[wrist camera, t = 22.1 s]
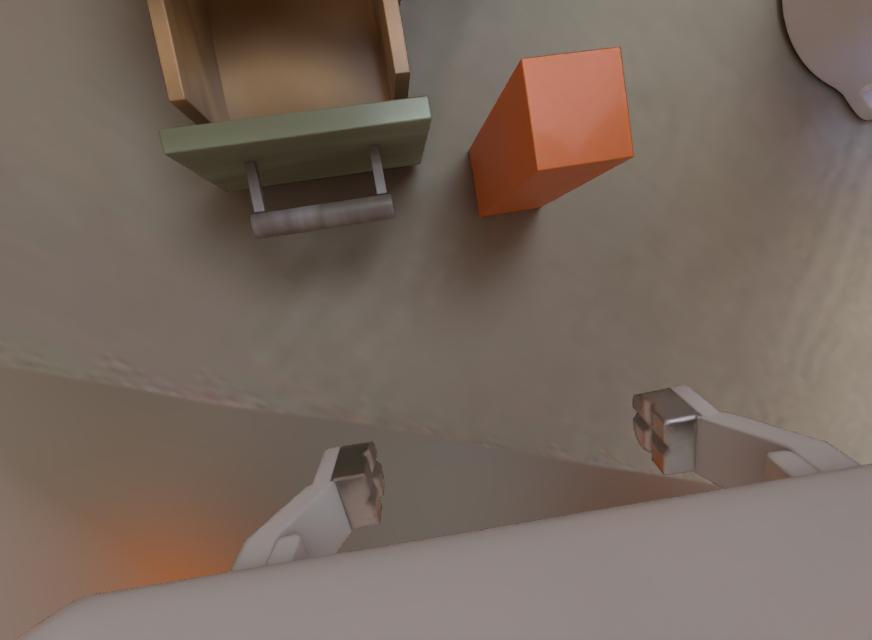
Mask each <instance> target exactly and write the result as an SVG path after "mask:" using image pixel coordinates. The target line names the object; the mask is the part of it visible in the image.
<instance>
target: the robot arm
mask: <svg viewBox="0 0 872 640" xmlns="http://www.w3.org/2000/svg"><path fill="white" fill-rule="evenodd" d="M782 7H783V15H784V21H785V25H786V29H787V32H788V35H789V38H790V40H791V42H792V45H793V47H794V49H795V50H796V52H797V54H798V55H799V57H800V59H801V60H802V61H803V63H804V64H805V65H806V66H807V67H808V69H809V70H810V71H811V72H812V73H813V74H815V75H816V76H817V77H818V78H820V79H821V80H822V81H824V82H825V83H827V84H829V85H830V86H832V87H834V88H835V89H837V90H838V91H839V92H840V93H842V94H843V96H844V97H845V99H846V100H847V102H848V103H849V105H850V106H851V108H852V109H853V110H854V112H855V113H856V114H857V115H858V116H859V117H860V118H862V119H864V120H872V0H782ZM633 408H634V409H635V410H636V411H637V412H638V413H637V414H636V416H635V417H634V418H633V426H634V431H635V435H636V438H637V440H638V442H639V444H640V445H641V446H642V448H643V449H644V450H646V451H648V452H650V453H652V460H653V462H654V463H655V464H656V466H657V467H658V468H659V469H660V471H661V472H662V473H663V474H664V476H665V475H672V474H679V473H686V472H693V471H695V473H697V474H699V475H701V476H702V477H704V478H706V479H708V480H710V481H711V482H713V483H715V484H717V485H719V486H721V487H722V488H724V489H719V490H712V491H706V492H700V493H694V494H689V495H683V496H677V497H671V498H665V499H659V500H653V501H647V502H641V503H635V504H629V505H624V506H617V507H612V508H606V509H600V510H594V511H588V512H582V513H576V514H571V515H565V516H558V517H553V518H547V519H540V520H535V521H529V522H522V523H517V524H511V525H505V526H499V527H493V528H487V529H481V530H475V531H469V532H463V533H457V534H451V535H445V536H439V537H434V538H427V539H421V540H415V541H410V542H404V543H398V544H392V545H386V546H380V547H374V548H368V549H362V550H356V551H350V552H344V553H339V554H336V553H337V551H338V550H339V549H340V547H341V546H342V544H343V543H344V542H345V540H346V539H347V538H348V536H349V535H350V533H351V532H352V529H358V528H363V527H368V526H373V525H378V524H380V518H381V510H382V504H381V501H380V498H381V497H382V496H383V495H384V476H383V470H382V467H381V464H380V463H379V462H378V461H376V457H377V450H376V447H375V444H374V443H373V442H366V443H359V444H353V445H347V446H342V447H335V448H329V449H326V450H325V451H324V453H323V456H322V459H321V461H320V464H319V467H318V470H317V472H316V475H315V478H314V480H313V483H312V485H309V486H306V487H305V488H304V489H303V490H302V491H301V492H300V493H299V494H297V495H296V496H295V497H294V498H293V499H292V500H291V501H290V502H288V503H287V504H286V505H285V506H284V507H283V508H282V509H280V510H279V511H278V512H277V513H276V514H275V515H274V516H273V517H271V518H270V519H269V520H268V521H267V522H266V523H265V524H264V525H262V526H261V527H260V528H259V529H258V530H257V531H256V532H254V533H253V534H252V535H251V536H250V537H249V538H248V539H247V540H245V542H244V544H243V546H242V548H241V550H240V552H239V554H238V556H237V558H236V560H235V562H234V565H233V566H232V568H231V570H230V572H225V573H220V574H214V575H208V576H202V577H196V578H190V579H184V580H178V581H173V582H166V583H160V584H155V585H148V586H143V587H137V588H131V589H125V590H117V591H111V592H103V593H96V594H92V595H89V596H85V597H82V598H79V599H77V600H75V601H73V602H71V603H70V604H68V605H66V606H65V607H63V608H62V609H60V610H58V611H57V612H55V613H54V614H52V615H51V616H49V617H47V618H46V619H44V620H43V621H41V622H40V623H38V624H37V625H36V626H34V627H33V628H31V629H30V630H29V631H27V632H26V633H24V634H23V635H21V636H20V637H18V638H17V639H16V640H872V464H867V465H860V464H859V463H857V462H856V461H854V460H853V459H851V458H850V457H848V456H847V455H845V454H844V453H842V452H841V451H839V450H838V449H836V448H835V447H834V446H832V445H831V444H829V443H828V442H826V441H822V440H819V439H816V438H812V437H809V436H806V435H802V434H799V433H796V432H792V431H789V430H785V429H782V428H779V427H775V426H772V425H769V424H765V423H762V422H759V421H755V420H752V419H749V418H745V417H742V416H738V415H735V414H732V413H728V412H723V413H721V412H720V411H718V410H717V409H716V408H715V407H713V406H712V405H711V404H710V403H708V402H707V401H706V400H705V399H703V398H702V397H701V396H700V395H699V394H697V393H696V392H695V391H694V390H692V389H691V388H690V387H689V386H687V385H679V386H674V387H670V388H667V389H662V390H657V391H651V392H646V393H641V394H636V395H634V396H633Z"/></svg>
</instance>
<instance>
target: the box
mask: <svg viewBox="0 0 872 640" xmlns="http://www.w3.org/2000/svg"><path fill="white" fill-rule="evenodd" d="M469 153H470V159H471V165H472V171H473V178H474V184H475V190H476V196H477V203H478V209H479V215H480V217H485V216H491V215H497V214H503V213H510V212H516V211H522V210H528V209H535V208H540V207H542V206H544V205H546V204H548V203H549V202H551V201H553V200H555V199H557V198H559V197H560V196H562V195H564V194H566V193H568V192H570V191H572V190H573V189H575V188H577V187H579V186H581V185H583V184H584V183H586V182H588V181H590V180H592V179H594V178H595V177H597V176H599V175H601V174H603V173H605V172H606V171H608V170H610V169H612V168H614V167H616V166H618V165H619V164H621V163H623V162H625V161H627V160H629V159H630V158H632V157H634V153H633V145H632V137H631V128H630V120H629V112H628V104H627V96H626V88H625V80H624V72H623V64H622V56H621V48H620V47H614V48H605V49H597V50H589V51H581V52H572V53H564V54H556V55H548V56H539V57H531V58H523V59H521V60H520V62H519V64H518V65H517V67H516V69H515V71H514V72H513V74H512V76H511V77H510V79H509V81H508V83H507V84H506V86H505V88H504V90H503V91H502V93H501V95H500V97H499V98H498V100H497V102H496V104H495V105H494V107H493V109H492V111H491V112H490V114H489V116H488V118H487V119H486V121H485V123H484V125H483V126H482V128H481V130H480V132H479V133H478V135H477V137H476V139H475V140H474V142H473V144H472V146H471V147H470V149H469Z"/></svg>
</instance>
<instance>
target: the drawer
mask: <svg viewBox="0 0 872 640" xmlns="http://www.w3.org/2000/svg"><path fill="white" fill-rule="evenodd" d="M147 4H148V8H149V13H150V17H151V22H152V26H153V31H154V35H155V40H156V44H157V48H158V53H159V57H160V62H161V66H162V71H163V75H164V80H165V84H166V89H167V93H168V98H169V101H170V102H171V103H172V104H173V105H174V106H176V107H177V108H178V109H179V110H180V111H181V112H183V113H184V114H185V115H186V116H187V117H188V118H190V119H191V120H192V121H193V122H194V123H195V124H197V125H192V126H184V127H176V128H168V129H160V130H159V134H160V138H161V143H162V147H163V152H164V154H165V155H167V156H169V157H170V158H172V159H174V160H175V161H177V162H179V163H180V164H182V165H183V166H185V167H187V168H188V169H190V170H192V171H193V172H195V173H197V174H198V175H200V176H202V177H203V178H205V179H207V180H208V181H210V182H212V183H213V184H215V185H217V186H218V187H220V188H222V189H223V190H225V191H227V192H228V191H235V190H242V189H249V190H250V195H251V199H252V204H253V209H254V212H255V213H256V214H252V215H251V216H250V222H251V227H252V230H253V233H254V235H255V237H256V238H257V239H261V238H267V237H274V236H280V235H287V234H293V233H299V232H306V231H312V230H319V229H325V228H332V227H338V226H344V225H351V224H357V223H364V222H370V221H376V220H383V219H389V218H394V217H395V215H394V208H393V202H392V197H391V194H387V190H386V184H385V178H384V173H383V169H389V168H396V167H402V166H409V165H416V164H420V163H421V159H422V155H423V151H424V147H425V143H426V139H427V135H428V131H429V127H430V123H431V119H432V115H431V109H430V103H429V97H428V96H420V97H413V98H408V89H409V79H410V68H409V62H408V56H407V50H406V44H405V38H404V32H403V26H402V20H401V15H400V9H399V3H398V0H147ZM368 171H373V176H374V182H375V187H376V193H377V196H370V197H363V198H357V199H350V200H343V201H337V202H330V203H323V204H317V205H310V206H303V207H297V208H290V209H283V210H276V211H270V212H267V208H266V203H265V198H264V193H263V189H262V187H263V186H270V185H277V184H284V183H291V182H298V181H305V180H312V179H319V178H326V177H333V176H340V175H347V174H354V173H361V172H368Z"/></svg>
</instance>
